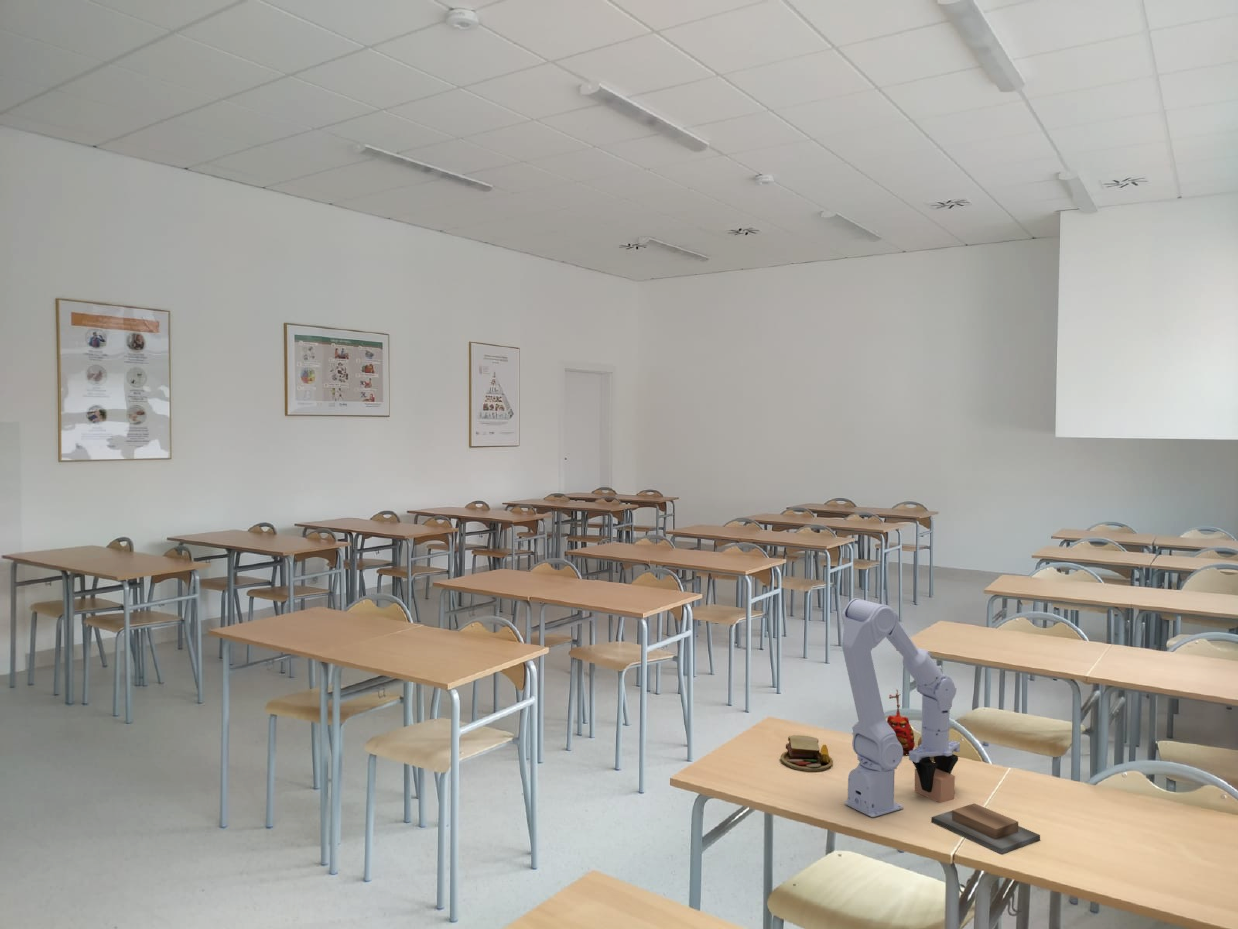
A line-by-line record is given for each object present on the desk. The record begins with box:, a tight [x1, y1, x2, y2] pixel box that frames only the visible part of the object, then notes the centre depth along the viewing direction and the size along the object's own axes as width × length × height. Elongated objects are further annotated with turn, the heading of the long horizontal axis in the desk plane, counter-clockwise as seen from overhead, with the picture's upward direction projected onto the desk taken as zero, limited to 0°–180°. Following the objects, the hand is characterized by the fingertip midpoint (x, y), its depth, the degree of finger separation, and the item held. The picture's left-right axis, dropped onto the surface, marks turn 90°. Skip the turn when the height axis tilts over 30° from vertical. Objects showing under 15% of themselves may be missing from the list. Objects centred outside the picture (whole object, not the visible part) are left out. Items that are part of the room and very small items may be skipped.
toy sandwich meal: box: [780, 734, 834, 772], centre depth 207 cm, size 12×14×5 cm
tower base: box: [930, 803, 1041, 855], centre depth 170 cm, size 12×16×3 cm
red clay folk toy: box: [886, 689, 916, 756], centre depth 215 cm, size 8×7×15 cm
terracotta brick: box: [913, 768, 956, 804], centre depth 187 cm, size 4×7×5 cm, turn 31°
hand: (934, 788), depth 188 cm, fingers closed on terracotta brick, 4 cm apart
